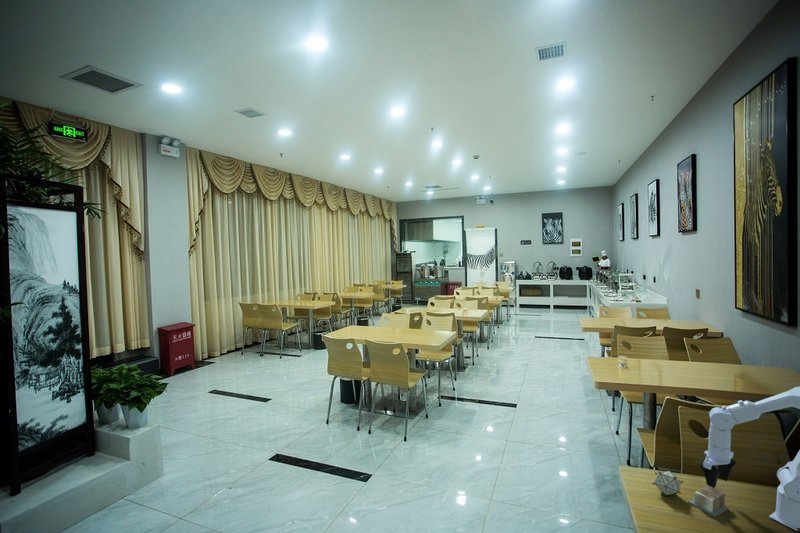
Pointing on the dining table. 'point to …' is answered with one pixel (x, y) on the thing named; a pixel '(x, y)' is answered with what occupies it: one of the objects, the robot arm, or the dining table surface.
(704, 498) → the pinkish beige block
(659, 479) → the game die
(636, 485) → the dining table surface
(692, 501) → the mat
